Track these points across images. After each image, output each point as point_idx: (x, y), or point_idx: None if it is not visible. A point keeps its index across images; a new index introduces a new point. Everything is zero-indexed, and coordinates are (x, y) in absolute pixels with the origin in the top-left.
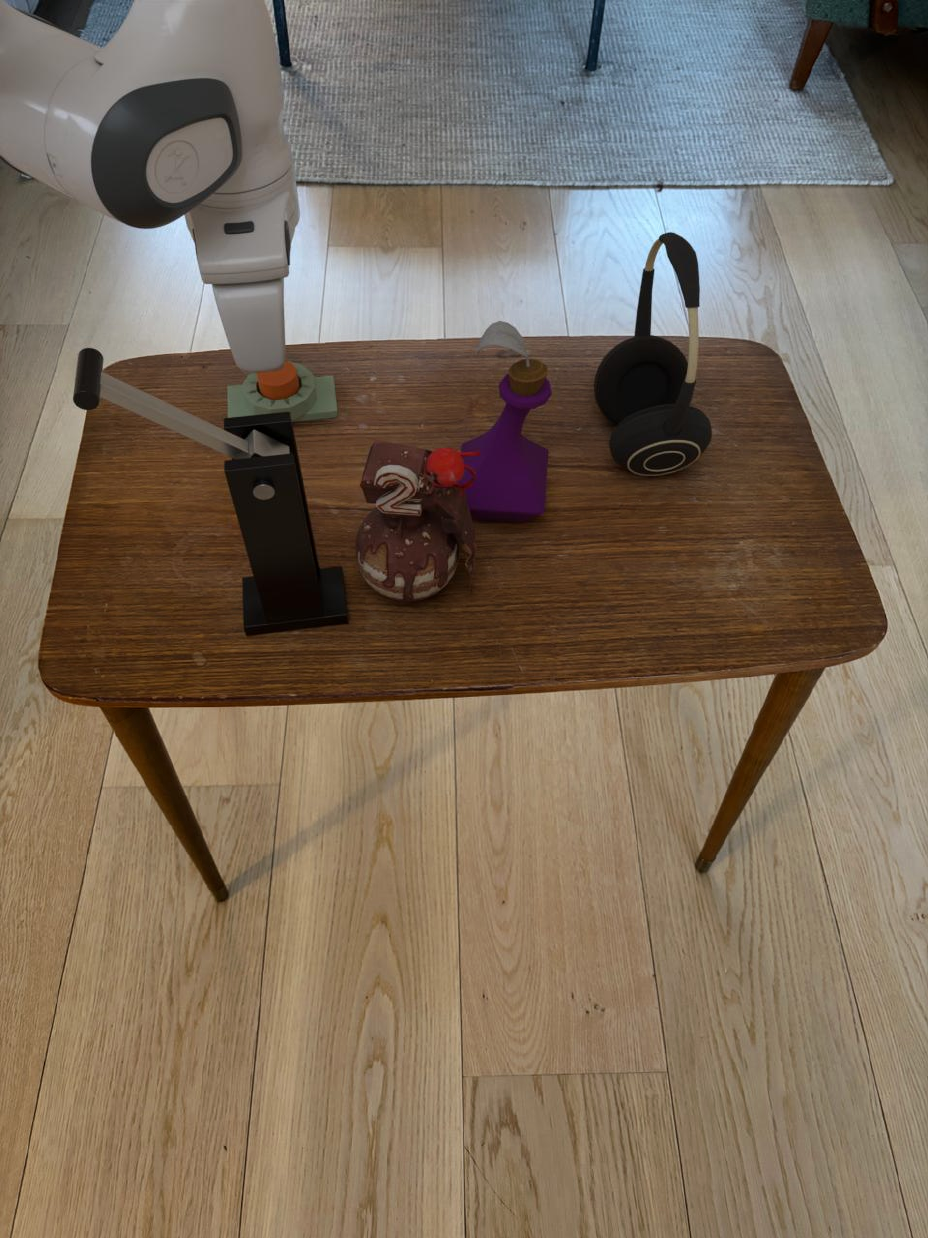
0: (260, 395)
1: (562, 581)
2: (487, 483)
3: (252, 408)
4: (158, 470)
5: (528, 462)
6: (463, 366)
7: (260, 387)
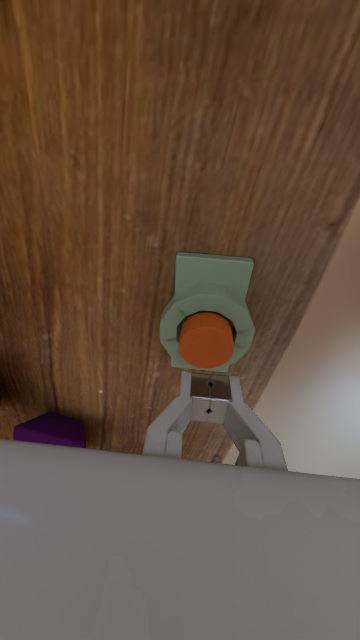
0: (189, 313)
1: (5, 432)
2: None
3: (179, 295)
4: (102, 125)
5: None
6: (212, 439)
7: (196, 320)
